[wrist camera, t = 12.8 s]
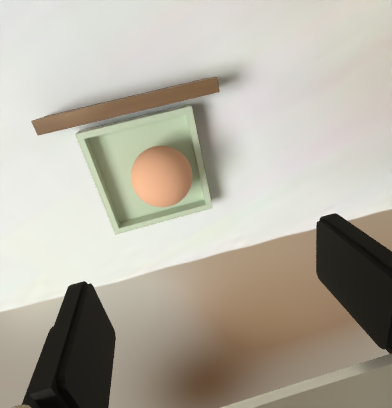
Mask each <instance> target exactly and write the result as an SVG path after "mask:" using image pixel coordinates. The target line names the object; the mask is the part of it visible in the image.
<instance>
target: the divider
mask: <svg viewBox="0 0 392 408" xmlns="http://www.w3.org/2000/svg"><path fill="white" fill-rule="evenodd" d="M217 92H219V87H218V80H217V77H215V78H206V79H202V80H197V81H193V82H189V83H185V84H180V85H176V86H172V87H168V88H163V89H159V90H155V91H151V92H146V93H142V94H138V95H134V96H129V97H125V98H121V99H117V100H112V101H108V102H104V103H100V104H95V105H91V106H87V107H83V108H78V109H74V110H70V111H65V112H61V113H57V114H53V115H48V116H45V117H42V118H39V119H36V120H33V121H31V122H32V124H33V126H34V128H35V130H36V132H37V135H42V134H46V133H50V132H55V131H59V130H63V129H67V128H71V127H75V126H80V125H84V124H88V123H92V122H96V121H100V120H105V119H109V118H113V117H117V116H121V115H125V114H130V113H134V112H138V111H142V110H146V109H150V108H155V107H159V106H163V105H167V104H171V103H175V102H179V101H184V100H188V99H192V98H196V97H200V96H204V95H209V94H213V93H217Z"/></svg>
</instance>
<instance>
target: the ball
mask: <svg viewBox="0 0 392 408" xmlns="http://www.w3.org/2000/svg"><path fill="white" fill-rule="evenodd" d="M131 183H132V186H133V189H134V191H135V193H136V194H137V195H138V197H139V198H140V199H141V200H143V201H144V202H145V203H147V204H149V205H152V206H155V207H169V206H172V205H175V204H177V203H178V202H180V201H181V200H182V199H183V198H184V197H185V196H186V195H187V193H188V192H189V190H190V188H191V184H192V169H191V166H190V164H189V162H188V160H187V159H186V157H185V156H184V155H183V154H182V153H181V152H179V151H178V150H176V149H174V148H172V147H168V146H154V147H151V148H148V149H146V150H145V151H143V152H142V153H141V154H140V155H139V156H138V157H137V158H136V160H135V161H134V163H133V166H132V169H131Z"/></svg>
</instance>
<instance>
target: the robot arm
mask: <svg viewBox="0 0 392 408" xmlns="http://www.w3.org/2000/svg"><path fill="white" fill-rule="evenodd" d="M316 244H317V247H316V250H317V252H316V254H317V255H316V259H317V260H316V272H317V276H318V278H319V279H320V281H321V282H322V283H323V284H324V285H325V286H326V287H327V289H328V290H329V291H330V292H331V293H332V294H333V295H334V297H335V298H336V299H337V300H338V301H339V302H340V303H341V304H342V306H343V307H344V308H345V309H346V310H347V311H348V312H349V313H350V315H351V316H352V317H353V318H354V319H355V320H356V321H357V323H358V324H359V325H360V326H361V327H362V328H363V329H364V330H365V331H366V333H367V334H368V335H369V336H370V337H371V338H372V339H373V341H374V342H375V343H376V344H377V345H378V346H379V347H380V348H382V349H386V350H387V351H388V352H389V353H390V354H389V355H386V356H382V357H379V358H376V359H373V360H369V361H367V362H363V363H360V364H357V365H354V366H351V367H347V368H344V369H341V370H337V371H334V372H331V373H328V374H325V375H321V376H318V377H315V378H312V379H309V380H306V381H302V382H299V383H296V384H293V385H290V386H287V387H284V388H281V389H277V390H274V391H271V392H268V393H265V394H262V395H259V396H255V397H252V398H249V399H246V400H243V401H240V402H237V403H234V404H231V405H227V406H224V407H222V408H392V252H391V251H390V250H389V249H387V248H386V247H384V246H383V245H381V244H380V243H379V242H377V241H376V240H374V239H373V238H371V237H369V236H368V235H367V234H365V233H364V232H362V231H361V230H360V229H358V228H357V227H355V226H354V225H352V224H351V223H350V222H348V221H347V220H345V219H344V218H342V217H341V216H339V215H338V214H336V213H334V214H330V215H326V216H323V217H321V218H320V221H318V222H317V240H316ZM115 340H116V337H115V331H114V328H113V326H112V324H111V322H110V320H109V318H108V316H107V314H106V312H105V310H104V308H103V306H102V304H101V302H100V300H99V298H98V295H97V293H96V291H95V289H94V287H93V285H92V284H87V283H86V282H85V281H84V282H80V283H76V284H73V285H70V286H69V287H68V289H67V291H66V294H65V297H64V300H63V303H62V305H61V308H60V311H59V314H58V317H57V319H56V322H55V325H54V326H53V327H52V328H51V329H50V331H49V333H48V336H47V338H46V341H45V344H44V346H43V349H42V352H41V354H40V357H39V360H38V363H37V365H36V368H35V371H34V373H33V376H32V379H31V381H30V384H29V387H28V389H27V392H26V395H25V397H24V400H23V403H22V405H18V406H14V407H12V408H108V406H109V396H110V387H111V377H112V368H113V358H114V349H115Z"/></svg>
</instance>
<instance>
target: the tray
mask: <svg viewBox="0 0 392 408" xmlns="http://www.w3.org/2000/svg"><path fill="white" fill-rule="evenodd" d="M75 135H76V138H77V140H78V143H79V145H80V148H81V150H82V153H83V155H84V158H85V160H86V163H87V165H88V168H89V170H90V173H91V175H92V178H93V180H94V183H95V185H96V188H97V190H98V193H99V195H100V198H101V200H102V203H103V205H104V208H105V210H106V213H107V215H108V217H109V220H110V222H111V225H112V227H113V230H114V232H115V235H116V234H120V233H123V232H127V231H130V230H134V229H138V228H141V227H145V226H149V225H152V224H156V223H160V222H163V221H167V220H171V219H174V218H178V217H182V216H185V215H189V214H192V213H196V212H200V211H203V210H207V209H211V208H212V203H211V198H210V194H209V189H208V184H207V179H206V174H205V169H204V164H203V159H202V154H201V149H200V145H199V140H198V135H197V130H196V125H195V120H194V115H193V110H192V106H191V105H184V106H180V107H176V108H172V109H168V110H163V111H159V112H155V113H151V114H147V115H143V116H139V117H134V118H130V119H126V120H122V121H118V122H114V123H110V124H106V125H101V126H97V127H93V128H89V129H85V130H81V131H79V132H77V133H76V134H75ZM154 146H168V147H172V148H174V149H176V150H178V151H179V152H181V153H182V154H183V155H184V156H185V157H186V159H187V160H188V162H189V164H190V166H191V169H192V184H191V188H190V190H189V192H188V193H187V195H186V196H185V197H184V198H183V199H182V200H181V201H180V202H178V203H177V204H175V205H172V206H169V207H155V206H152V205H149V204H147V203H145V202H144V201H143V200H141V199H140V198H139V197H138V195H137V194H136V193H135V191H134V189H133V186H132V183H131V169H132V166H133V163H134V161H135V160H136V158H137V157H138V156H139V155H140V154H141V153H142V152H143V151H145V150H146V149H148V148H151V147H154Z"/></svg>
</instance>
